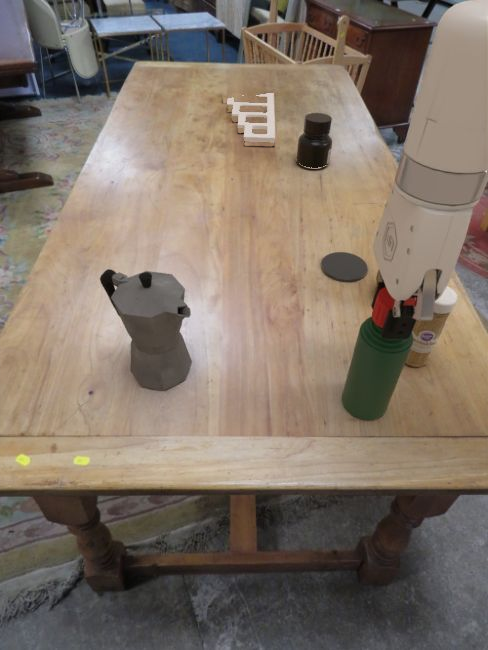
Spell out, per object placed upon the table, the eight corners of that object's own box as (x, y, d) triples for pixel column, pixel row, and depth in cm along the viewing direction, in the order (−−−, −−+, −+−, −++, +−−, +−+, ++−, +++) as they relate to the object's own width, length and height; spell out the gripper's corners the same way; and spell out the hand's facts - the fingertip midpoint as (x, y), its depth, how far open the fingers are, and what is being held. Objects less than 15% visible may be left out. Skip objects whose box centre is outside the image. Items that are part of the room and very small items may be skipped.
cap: (367, 306, 52) (373, 286, 50) (402, 306, 52) (409, 285, 50) (376, 331, 49) (382, 311, 47) (412, 330, 50) (421, 310, 47)
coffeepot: (214, 366, 67) (210, 273, 54) (175, 409, 61) (160, 316, 49) (139, 326, 73) (120, 234, 60) (98, 362, 67) (66, 269, 54)
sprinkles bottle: (402, 368, 67) (430, 304, 58) (394, 346, 71) (419, 282, 61) (431, 368, 68) (464, 303, 58) (422, 346, 71) (451, 282, 61)
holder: (274, 147, 126) (275, 137, 124) (212, 145, 126) (212, 135, 124) (273, 96, 158) (273, 88, 156) (223, 95, 158) (223, 86, 156)
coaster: (365, 256, 88) (366, 254, 88) (368, 284, 82) (368, 282, 81) (321, 252, 89) (321, 249, 89) (320, 279, 83) (320, 276, 82)
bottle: (384, 386, 65) (421, 288, 51) (389, 423, 60) (430, 325, 47) (341, 381, 65) (365, 283, 52) (342, 417, 61) (369, 320, 47)
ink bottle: (335, 167, 117) (344, 121, 109) (308, 173, 114) (314, 126, 106) (316, 153, 123) (322, 108, 115) (289, 159, 120) (293, 113, 112)
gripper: (377, 137, 44) (344, 278, 57) (428, 225, 32) (373, 378, 45) (449, 138, 45) (401, 278, 57) (527, 226, 33) (444, 378, 46)
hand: (389, 321), depth 51 cm, fingers closed on cap, 4 cm apart
